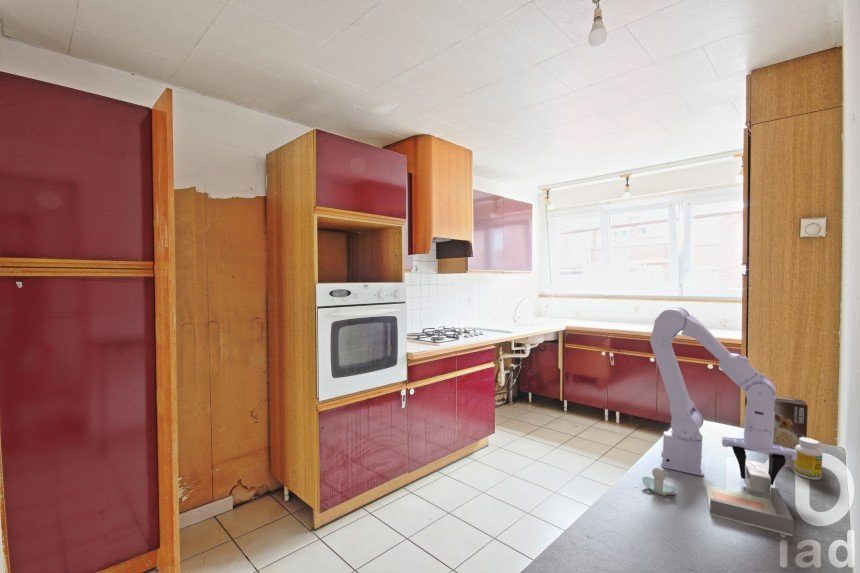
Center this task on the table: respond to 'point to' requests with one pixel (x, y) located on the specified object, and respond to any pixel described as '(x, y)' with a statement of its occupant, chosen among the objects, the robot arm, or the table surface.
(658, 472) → the pacifier
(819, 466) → the supplement bottle
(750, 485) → the aluminium bar
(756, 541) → the table surface
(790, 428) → the coffee box
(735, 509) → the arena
